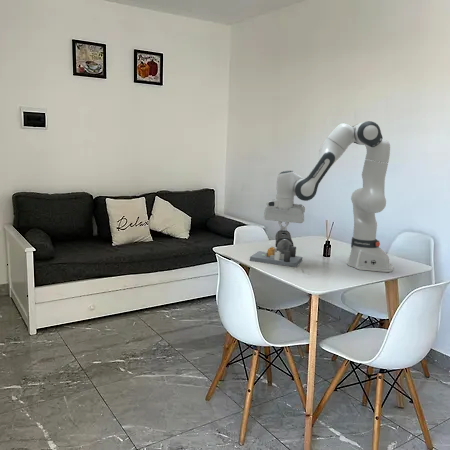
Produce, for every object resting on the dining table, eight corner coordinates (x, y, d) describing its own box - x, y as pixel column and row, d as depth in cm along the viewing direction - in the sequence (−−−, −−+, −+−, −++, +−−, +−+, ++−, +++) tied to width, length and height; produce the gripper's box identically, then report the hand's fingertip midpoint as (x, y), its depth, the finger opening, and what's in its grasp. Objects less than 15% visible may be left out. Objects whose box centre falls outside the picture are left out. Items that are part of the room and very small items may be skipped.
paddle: (274, 255, 239) (274, 246, 238) (271, 256, 235) (272, 248, 234) (269, 254, 239) (270, 246, 239) (267, 256, 236) (267, 247, 235)
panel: (302, 260, 238) (303, 247, 237) (295, 267, 226) (296, 253, 224) (258, 254, 247) (259, 241, 246) (249, 260, 235) (250, 247, 233)
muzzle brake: (290, 246, 269) (291, 229, 267) (293, 257, 241) (294, 238, 239) (274, 245, 269) (275, 228, 268) (274, 256, 242) (276, 237, 240)
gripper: (306, 204, 229) (305, 231, 231) (267, 200, 237) (266, 227, 239) (303, 205, 223) (302, 233, 226) (263, 202, 231) (262, 229, 233)
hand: (283, 230), depth 233 cm, fingers closed
